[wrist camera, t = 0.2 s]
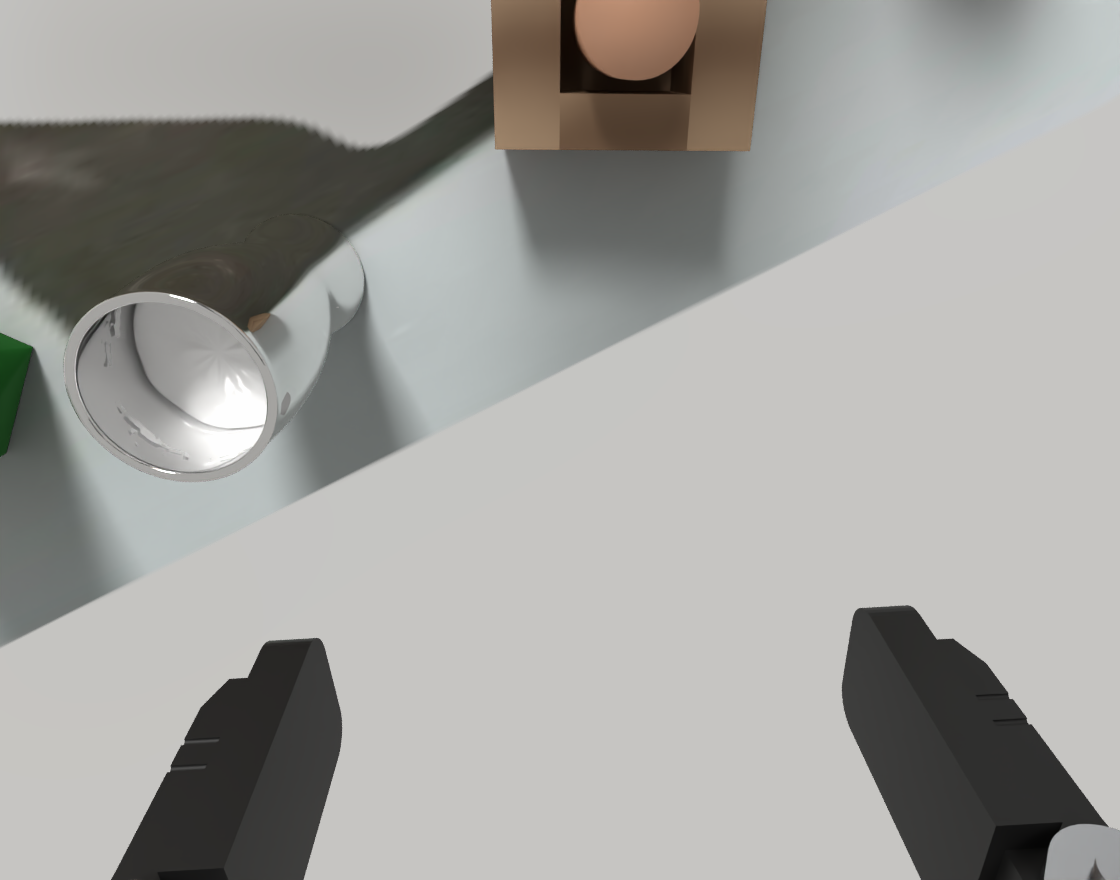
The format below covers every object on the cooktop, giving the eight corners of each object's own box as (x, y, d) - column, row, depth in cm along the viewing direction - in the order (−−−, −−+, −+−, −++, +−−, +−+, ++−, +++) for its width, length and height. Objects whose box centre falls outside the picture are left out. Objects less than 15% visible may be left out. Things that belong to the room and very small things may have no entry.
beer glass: (242, 341, 38) (84, 486, 25) (220, 200, 35) (27, 281, 22) (378, 344, 39) (295, 490, 25) (368, 206, 36) (267, 288, 22)
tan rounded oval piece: (573, -42, 28) (579, -61, 24) (680, -40, 28) (705, -59, 24) (571, 78, 30) (577, 80, 25) (672, 79, 30) (694, 81, 26)
